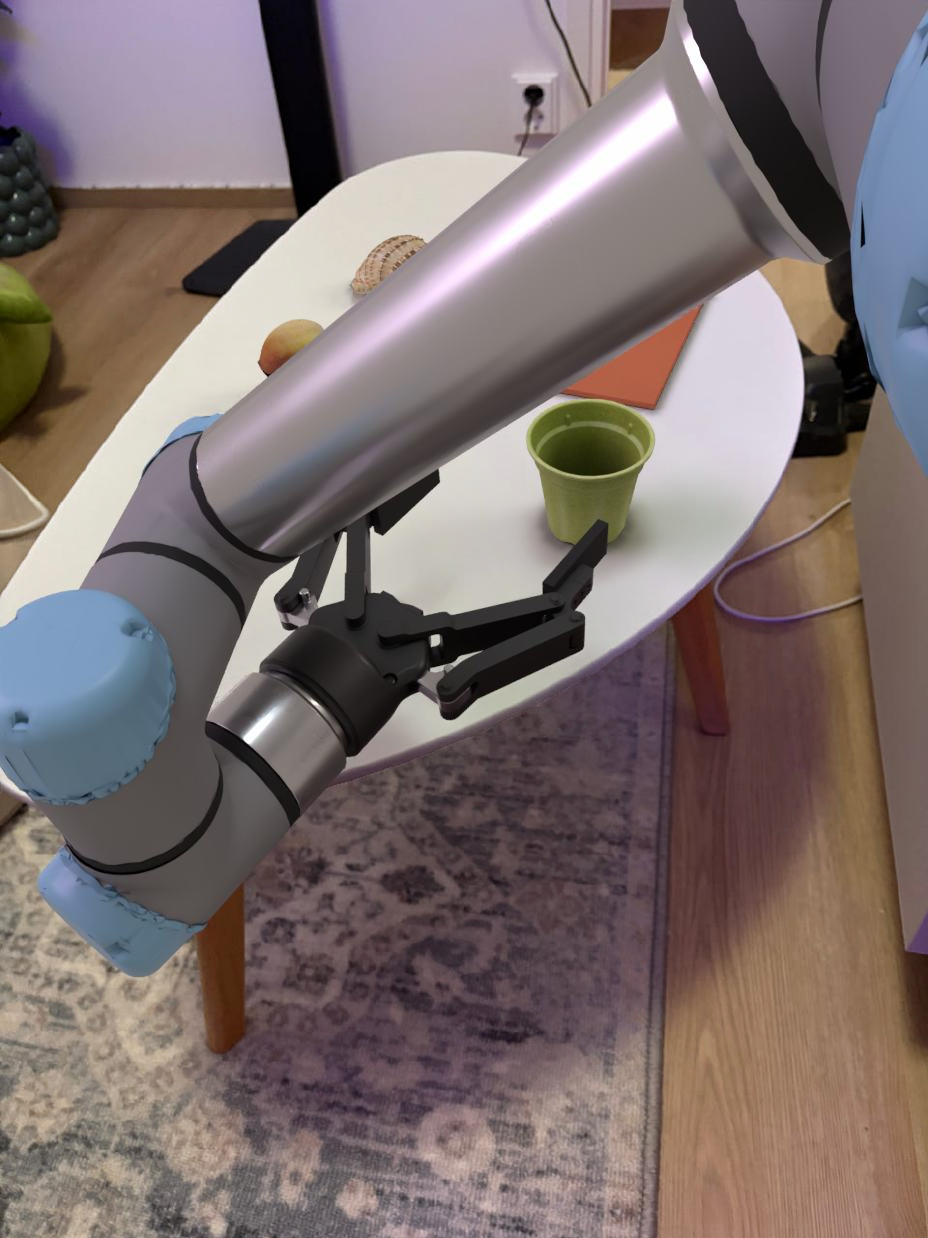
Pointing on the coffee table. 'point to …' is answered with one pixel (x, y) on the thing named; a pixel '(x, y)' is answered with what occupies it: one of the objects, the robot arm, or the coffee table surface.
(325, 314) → the coffee table surface
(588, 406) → the plant pot
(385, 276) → the seashell
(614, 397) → the terracotta mat
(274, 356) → the fruit
